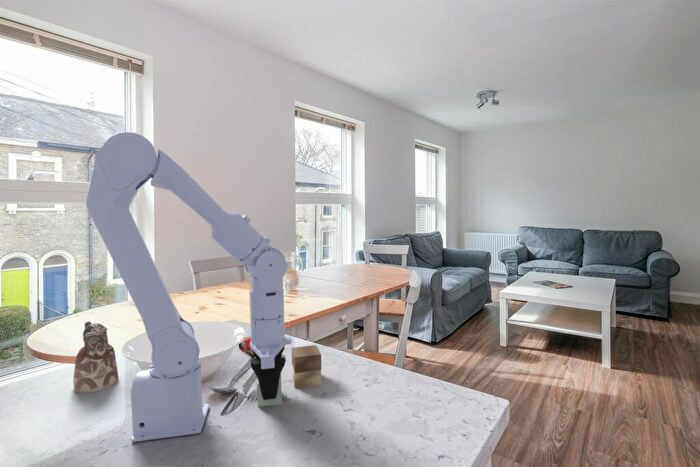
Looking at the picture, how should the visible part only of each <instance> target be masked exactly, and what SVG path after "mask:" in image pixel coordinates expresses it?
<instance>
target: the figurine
mask: <svg viewBox="0 0 700 467" xmlns="http://www.w3.org/2000/svg"><path fill="white" fill-rule="evenodd" d="M107 332H108V328H107V327H105V326H104V325H103V324H101V323H99V322H97V323H92V322H91V321H86V322H85V323H84V330H83V332H82V341H83V343H84V345H83V347H81V348H80V349H79V351H78V352H77V354H76V356H75V359H74V368H73V369H74V371H73V379H72V380H73V390H74V391H75V392H76V393H82V392H83V393H97V392H100V391H102V390H106V389H108V388H110V387H112V386H113V385H116V383H117V382H118V381H119V369H118V366H117V358H116V351H115V348H114V347H113V345H111V344H109V338H108V333H107Z"/></svg>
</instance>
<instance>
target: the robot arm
mask: <svg viewBox="0 0 700 467" xmlns="http://www.w3.org/2000/svg"><path fill="white" fill-rule="evenodd" d="M150 179H151V180H150ZM149 180H150V186H151V187H155V188H158V189H162V190H166V191H170V192H172V194H174V195H175V196H176V197H177V198H178V199H180V201H182V202H183V203H184V204H185V205H186V206H188V207H189V208H190V209H191V210H192V211H194V213H196V214H197V215H198V216H199V217H200V218H202V219H203V220H204V221H205V222H206V223H207V224H209V225H210V227H211V238H212V239H213V241H215V242H216V243H217V244H218V245H219V246H220V247H222V249H223V250H225V251H226V252H227V253H228V254H229V255H231V257H232V258H234V259H235V260H236V261H237V262H238V263H240V264H241V265H242V264H243V266H244V268H245V271H246V272H248V273H250V274H251V275H249V293H248V294H249V314H250V316H249V317H250V318H249V319H250V336H251V341H250V348H251V349H252V350H253V353H254V354H255V356H256V358H254V357H252V358H251V359H250V367H251V369H252V370H253V371H252V372H254V373H255V376H256V377H257V378H256V379H258V381H259V385H260V390H261V394H262V397H263V400H269V399H276V396H277V391H278V384H279V378H280V374H281V375H282V372H283V369H284V367H285V365H286V361H287V360H286V357H282V355H283V352H284V350H285V348H286V347H285V346H286V345H287V346H288V345H291V344H293V341H292V340H293V339H292V337H291V336H286V332H285V331H286V330H285V328H286V327H285V326H286V325H285V300H284V299H285V298H284V296H285V295H284V294H285V293H284V291H285V290H284V280H283V279H284V277H285V275H286V273H288V272H287V271H288V268H289V263H288V262H287V261H286V259H285V258H286V257H285V255H284V253H283V252H282V251H281V250H280V249H278V248H276V247H272V246H271V245H270V243H271V239H270V238H269V237H268V236H263V235H262V234H261V233H260V232H258V230H257V229H255V228H254V227H253V226H252V224H250V222H251V221H252V219H251V218H250V217H249V216H248V215H247V214H246V215H244V214H243V215H241V214H240V213H239V212H236V211H234V212H232V211H230V212H227V211H225V210H224V208H222V207H221V206H220V204H218V203H217V202H216V201H215V199H213V198H212V197H211V196H210V194H208V192H206V190H205V189H203V188H202V186H201V185H200V184H199V183H198V182H197V181H196V180H195V179H193V177H191V175H190V174H189V173H188V172H187V171H186V170H185V169H184V168H183V167H182V166H181V165H179V164H178V163H177V162H176V161H175V160H173V159H172V158H171V157H170V156H169V155H168V154H167V153H165V152H164V151H162V150H161V149H160V148H157V152H156V149H155V147H154V145H153V144H152V142H151V141H150V140H149V139H147V137H145V136H144V135H142V134H139V133H136V132H133V131H121V132H117V133H115V134H113V135H111V136H110V137H109V138H107V140H106V141H105V142H104V143H103V145H102V146H101V147H100V149H99V150H98V151H97V153H96V154H95V155H94V162H93V172H92V175H91V179H90V184H89V188H88V193H87V196H86V197H87V198H86V202H85V204H86V207H87V211H88V213H89V214H90V217H91V219H92V221H93V223H94V225H95V227H96V229H97V232H98V233H99V235H100V237H101V239H102V241H103V243H104V245H105V247H106V249H107V251H108V253H109V255H110V257H111V259H112V261H113V263H114V265H115V267H116V269H117V271H118V274H119V276H120V277H121V279H122V281H123V283H124V286H125V287H126V289H127V291H128V294H129V296H130V297H131V299H132V301H133V303H134V305H135V307H136V309H137V311H138V314H139V316H140V317H141V320H142V322H143V325H144V329H145V332H146V335H147V338H148V340H149V342H150V345H151V350H152V351H151V363H152V364H150V366H149V368H147V369H142V370H138V372H136V374H135V375H134V378H133V381H132V385H131V391H130V392H131V394H130V395H131V396H130V404H131V406H130V407H131V421H132V422H131V423H132V436H131V439H130V440H131V442H133V443H134V442H143V441H150V440H151V441H152V440H159V439H166V438H173V437H182V436H189V435H197V434H200V433H201V432H202V430H203V426H204V424H205V420H206V417H207V414H208V412H209V408H210V404H209V403H203V390H202V389H203V387H202V386H203V385H202V384H203V382H202V362H201V358H200V354H201V353H200V345H199V343H198V341H197V339H196V337H195V330H194V327H193V325H192V324H191V323H190V322H189V321H187V320H186V319H184V318H183V317H182V316H181V315H180V312H179V311H178V309H177V307H176V305H175V303H174V301H173V300H172V298H171V296H170V294H169V291H168V289H167V287H166V284H165V283H164V281H163V278H162V276H161V275H160V272H159V269H158V267H157V265H156V263H155V261H154V259H153V257H152V255H151V253H150V250H149V249H148V246H147V245H146V243H145V241H144V238H143V235H142V234H141V232H140V229H139V228H138V225H137V223H136V221H135V219H134V217H133V215H132V212H131V210H130V206H131V204H132V203H133V201H134V199H135V197H136V195H137V193H138V190H140V188H141V187H142V186H144V185H145V184H147V182H148V181H149Z"/></svg>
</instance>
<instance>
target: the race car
mask: <svg viewBox="0 0 700 467" xmlns="http://www.w3.org/2000/svg"><path fill="white" fill-rule="evenodd" d="M243 338H244V340H243V341H242V342H241V343H240V344H239V343H238V344H239V345H238V348H239V350H240V351H241V350H242V351H243V352H244V353H246V354H247V355H249V356H250V357H252V356H254V357H256V356H255V354H254V353H253V350H252V349H251V348H250V341H251V335H250V336H245V337H243ZM254 357H253V358H254Z"/></svg>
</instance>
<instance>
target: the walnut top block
mask: <svg viewBox="0 0 700 467" xmlns="http://www.w3.org/2000/svg"><path fill="white" fill-rule="evenodd" d="M291 364H292V369H293V368H294V371H295V373H300V372H308V371H315V370H321V371H322V353H321V351H320V349H319V347H318V345H317V344H313V345H306V346H304V345H303V346H296V347H291Z"/></svg>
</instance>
